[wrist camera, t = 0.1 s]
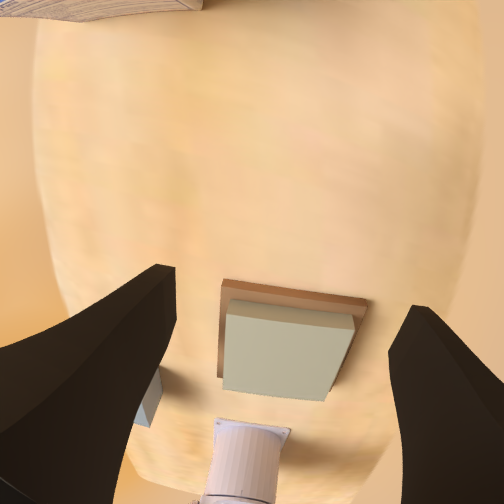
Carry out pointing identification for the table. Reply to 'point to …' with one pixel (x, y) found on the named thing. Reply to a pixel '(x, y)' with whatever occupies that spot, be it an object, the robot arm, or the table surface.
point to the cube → (150, 402)
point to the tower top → (283, 350)
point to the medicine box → (90, 8)
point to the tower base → (286, 299)
